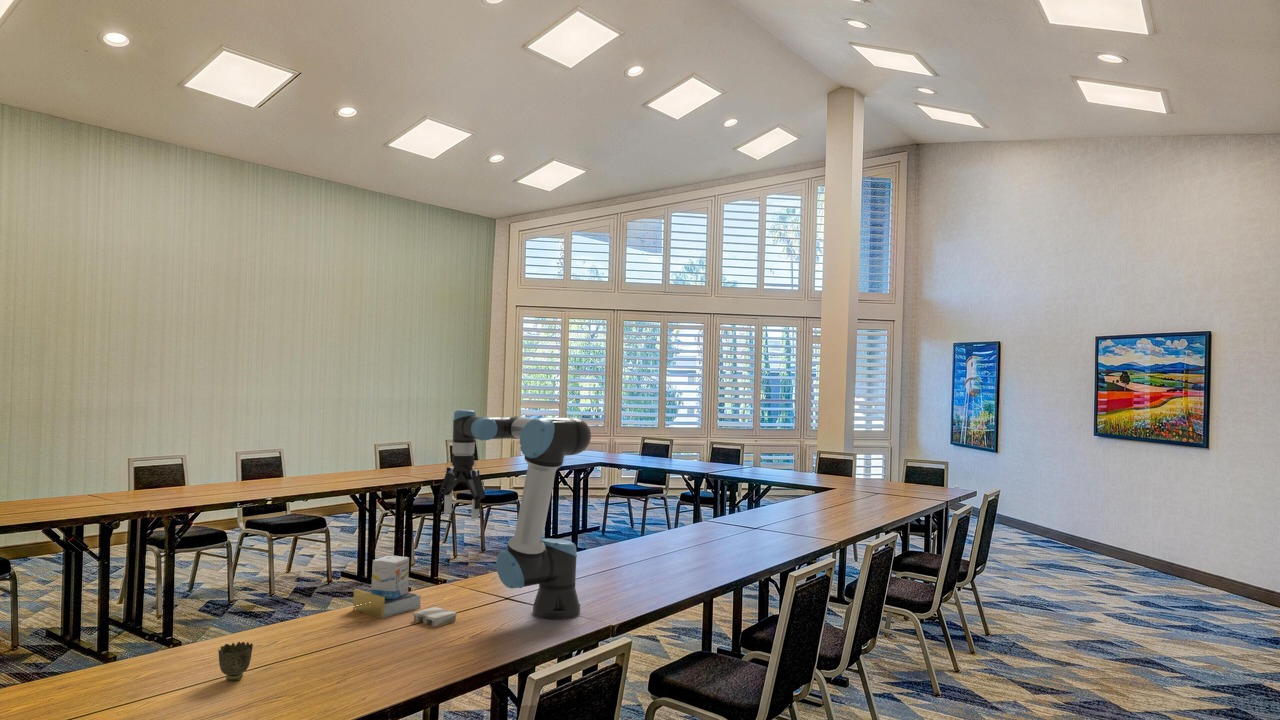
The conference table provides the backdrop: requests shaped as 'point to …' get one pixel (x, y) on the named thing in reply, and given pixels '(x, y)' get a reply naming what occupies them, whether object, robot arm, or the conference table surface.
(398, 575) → the ink box
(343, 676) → the conference table surface
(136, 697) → the conference table surface
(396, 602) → the dock
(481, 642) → the conference table surface
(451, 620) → the block
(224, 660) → the cup
